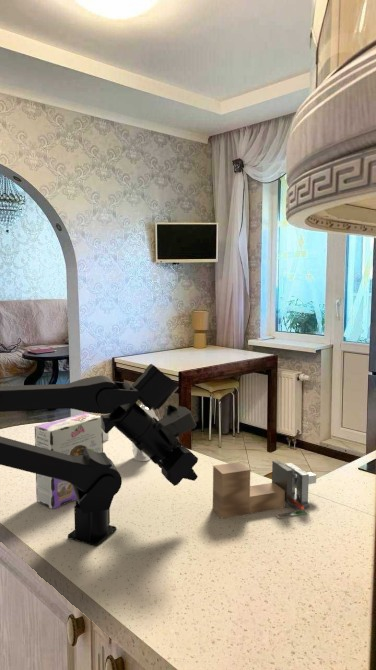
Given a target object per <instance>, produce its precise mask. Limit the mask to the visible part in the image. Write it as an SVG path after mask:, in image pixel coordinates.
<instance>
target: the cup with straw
mask: <svg viewBox="0 0 376 670" xmlns="http://www.w3.org/2000/svg"><path fill="white" fill-rule="evenodd" d="M139 406H140V407H141V408H142V409H143V410H144V411H146V412H147V413H148V414H149V415H150V416H151V417H152V418H153V417H154V418H155V419H157V420H158V421H159V420H160V418H159V417H158V416H157V415H156V412H155V410H154V409H153V408H152V409H151V410H149V409H148V408H147V407H146V406H145V405H144V404H143V403H141V402H140V405H139ZM131 447H132V454H133V460H135V461H137V462H145V461H146V462H147V461H150V460H151V459H150V458H149V457H148V456H147V455H146V454H145V453H144V452H143V451H142V450H141V451H140V450H139V449H138V448H137V447H136V446H135V445H134V443H133V442H131Z"/></svg>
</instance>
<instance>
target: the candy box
mask: <svg viewBox="0 0 376 670" xmlns="http://www.w3.org/2000/svg"><path fill="white" fill-rule="evenodd" d="M101 422H102V420H101V415H98V414H95V413H90V412H84V413H79V414H77V415H73V416H72V415H71V416H68V417H64V418H62V419H57V420H52V421H50V422H45V423H42V424H38V425H35V426H34V446H38V447H41V448H45V449H49V450H52V451H56V452H60V453H63V454H67V455H71V456H78V455H83V454H84V449H85V448H87V449H90V450H92V451H94V452H98V453H102V452H104V441H103V429H102V428H101ZM35 485H36V486H35V488H36V490H35V491H36V494H35V495H36V502H38V503H39V504H41V505H44V506H45V507H46V508H49V509H50V510H53V509H56V508H58V507H61V506H63V505H66V504H68V503H70V502H73V501H75V500H77V497H76V495H75V492H74V489H73V486H72V484H71V483H69V482H67V481H63V480H59V479H55V478H51V477H47V476H43V475H39V474H35Z"/></svg>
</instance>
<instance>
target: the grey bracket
mask: <svg viewBox="0 0 376 670" xmlns="http://www.w3.org/2000/svg"><path fill="white" fill-rule="evenodd" d="M271 465H272V467H271V468H272V469H271V471H272V472H271V483H275V484H276V485H278V486H279V487H280V488H282V489H283V490H284V491H285V504H289V503H291V502H292V503H293V504H295V505H296V506H297V507H298V508H300V509H299V510H300V511H301V510H305V508H304V506H303V505H302V504H300V503H299V502H298V501H296V500H295V499H292V487H295V488H296V487H297V475H296V474H294V475H293V470H292V469H290V468H289V467H287V466H286V465H285V463H284V462H281V461H279V459H276V460H275V459H274V460H272V464H271ZM307 473H308V474H309V485H312V484H313V485H314V484H316V483H317V474H316V473H313V472H312V471H310V472H309V471H308V472H307Z"/></svg>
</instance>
